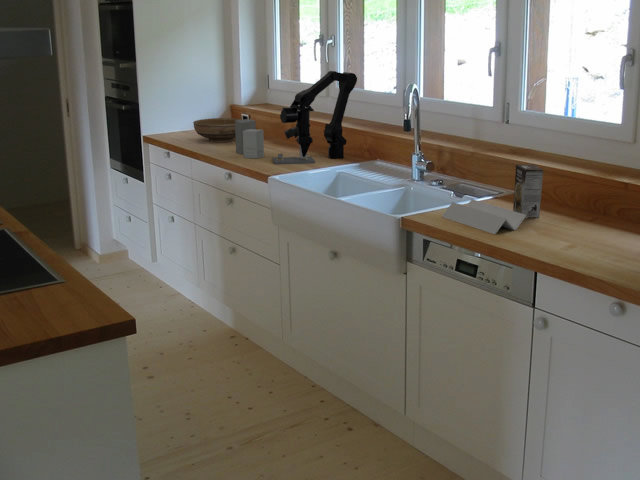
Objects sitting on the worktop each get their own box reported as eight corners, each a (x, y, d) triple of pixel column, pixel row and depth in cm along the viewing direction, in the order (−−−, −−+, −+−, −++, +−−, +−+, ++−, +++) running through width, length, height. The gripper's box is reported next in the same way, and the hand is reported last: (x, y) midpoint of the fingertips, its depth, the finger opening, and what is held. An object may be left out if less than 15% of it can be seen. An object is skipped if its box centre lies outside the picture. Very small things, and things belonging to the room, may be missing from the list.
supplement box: (264, 156, 369) (264, 129, 365) (256, 158, 362) (256, 131, 359) (250, 155, 372) (250, 128, 368) (243, 157, 365) (242, 130, 362)
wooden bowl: (259, 143, 406) (258, 124, 403) (206, 147, 394) (205, 127, 391) (234, 134, 438) (234, 116, 435) (185, 137, 426) (184, 119, 423)
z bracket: (504, 246, 241) (494, 234, 238) (451, 227, 262) (441, 216, 259) (526, 215, 243) (517, 203, 240) (472, 199, 264) (462, 188, 260)
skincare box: (250, 151, 383) (249, 118, 379) (257, 153, 377) (256, 120, 373) (234, 152, 379) (233, 119, 374) (241, 154, 373) (240, 121, 369)
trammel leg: (306, 157, 358) (306, 144, 356) (307, 158, 355) (306, 145, 353) (299, 157, 358) (299, 144, 356) (300, 158, 355) (300, 145, 353)
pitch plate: (311, 158, 363) (311, 151, 362) (314, 163, 352) (314, 155, 351) (272, 159, 361) (272, 151, 360) (274, 164, 349) (274, 156, 348)
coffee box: (512, 211, 265) (515, 164, 261) (530, 210, 266) (534, 163, 261) (520, 218, 257) (524, 169, 252) (540, 217, 257) (543, 169, 253)
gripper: (283, 119, 360) (283, 153, 364) (287, 124, 342) (287, 160, 346) (307, 118, 361) (307, 152, 365) (312, 124, 343) (312, 159, 348)
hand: (303, 156), depth 356 cm, fingers closed on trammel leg, 3 cm apart
